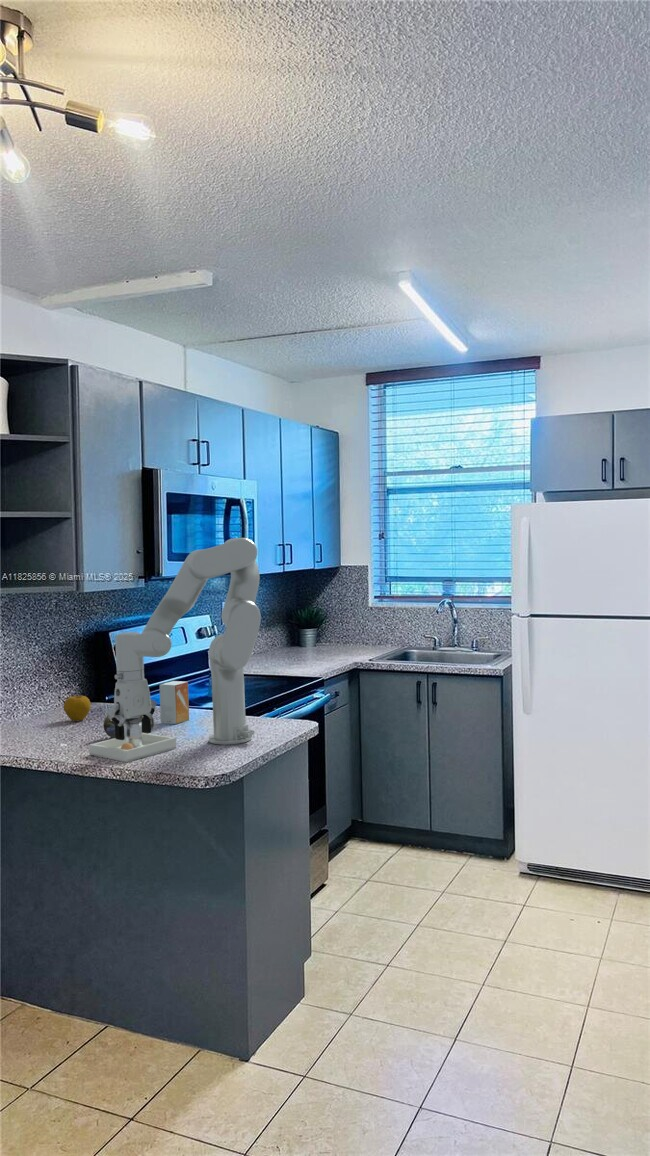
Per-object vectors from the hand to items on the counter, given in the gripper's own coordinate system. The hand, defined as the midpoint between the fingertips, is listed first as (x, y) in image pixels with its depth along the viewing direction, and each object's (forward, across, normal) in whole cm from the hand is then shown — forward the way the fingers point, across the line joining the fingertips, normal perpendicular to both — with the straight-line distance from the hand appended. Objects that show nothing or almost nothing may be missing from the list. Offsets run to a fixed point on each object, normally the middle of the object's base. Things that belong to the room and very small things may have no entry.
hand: (133, 735), depth 239 cm
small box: (+5, +36, +21) cm, 42 cm away
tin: (+5, +13, +17) cm, 22 cm away
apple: (+5, +21, +53) cm, 57 cm away
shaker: (+4, 0, 0) cm, 4 cm away
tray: (+4, 0, 0) cm, 5 cm away
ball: (+2, -6, -4) cm, 8 cm away
